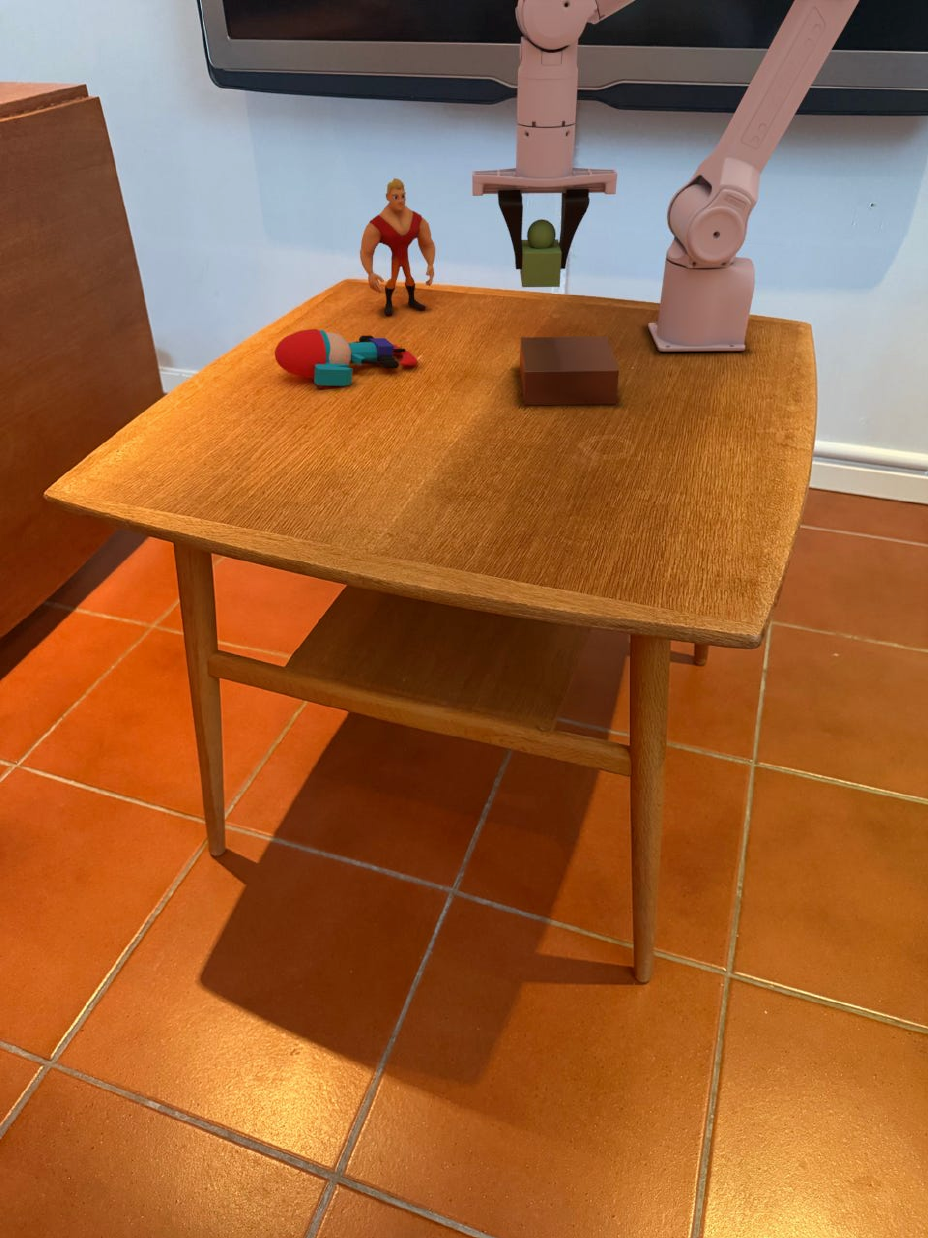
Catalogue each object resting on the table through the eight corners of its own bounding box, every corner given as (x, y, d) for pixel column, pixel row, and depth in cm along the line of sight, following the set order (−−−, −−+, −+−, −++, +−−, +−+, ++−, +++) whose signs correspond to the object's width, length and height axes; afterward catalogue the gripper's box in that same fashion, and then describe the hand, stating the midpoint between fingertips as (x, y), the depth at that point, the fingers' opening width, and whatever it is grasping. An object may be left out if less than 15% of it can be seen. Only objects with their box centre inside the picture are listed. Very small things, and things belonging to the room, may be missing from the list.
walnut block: (604, 368, 94) (607, 336, 91) (615, 404, 87) (619, 370, 84) (519, 369, 94) (520, 337, 92) (524, 405, 87) (525, 371, 84)
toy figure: (391, 359, 100) (263, 363, 93) (396, 316, 97) (265, 317, 90) (420, 388, 95) (287, 394, 88) (427, 344, 92) (290, 347, 85)
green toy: (556, 272, 97) (559, 213, 94) (559, 286, 93) (563, 225, 90) (520, 272, 97) (521, 213, 94) (522, 287, 93) (523, 226, 90)
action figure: (371, 320, 106) (361, 184, 97) (362, 311, 109) (350, 178, 99) (443, 308, 109) (440, 175, 100) (432, 300, 112) (428, 169, 102)
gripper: (615, 114, 89) (604, 254, 97) (472, 116, 89) (473, 255, 98) (624, 127, 84) (611, 274, 92) (471, 129, 84) (472, 275, 92)
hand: (540, 266), depth 94 cm, fingers closed on green toy, 4 cm apart
